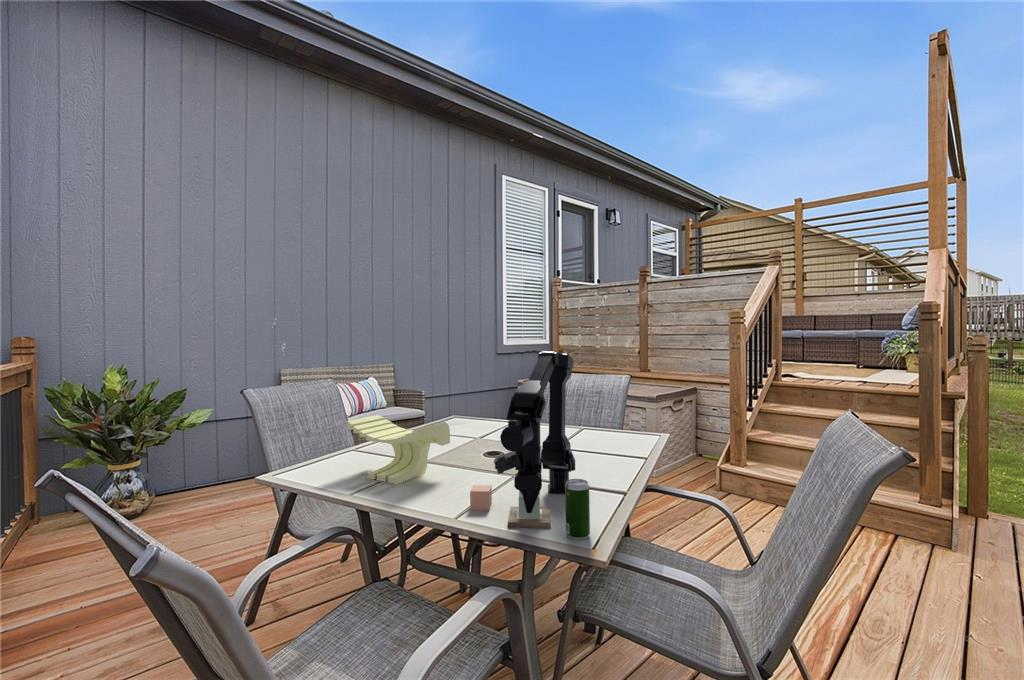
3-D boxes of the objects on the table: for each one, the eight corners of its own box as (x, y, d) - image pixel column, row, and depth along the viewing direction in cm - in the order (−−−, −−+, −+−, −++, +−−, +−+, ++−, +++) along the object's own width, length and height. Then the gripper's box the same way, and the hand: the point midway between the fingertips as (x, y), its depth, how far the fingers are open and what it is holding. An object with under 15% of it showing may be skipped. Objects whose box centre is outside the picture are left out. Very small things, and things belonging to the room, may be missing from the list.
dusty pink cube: (473, 503, 124) (473, 485, 124) (491, 503, 123) (491, 485, 123) (470, 510, 119) (470, 491, 119) (489, 510, 118) (489, 491, 118)
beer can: (573, 542, 99) (572, 487, 99) (561, 533, 104) (560, 480, 104) (594, 538, 101) (594, 483, 101) (581, 529, 106) (581, 477, 106)
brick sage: (539, 510, 114) (539, 490, 114) (539, 517, 109) (539, 497, 109) (519, 509, 115) (519, 489, 115) (518, 517, 110) (518, 496, 110)
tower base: (510, 511, 117) (510, 506, 117) (549, 511, 117) (549, 506, 117) (507, 527, 107) (507, 521, 107) (550, 527, 107) (550, 522, 107)
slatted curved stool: (450, 474, 150) (449, 420, 150) (417, 488, 137) (416, 428, 137) (383, 463, 165) (383, 413, 165) (348, 474, 152) (347, 420, 151)
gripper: (499, 434, 122) (500, 492, 122) (491, 451, 103) (492, 520, 103) (541, 434, 121) (542, 492, 121) (541, 451, 103) (542, 521, 103)
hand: (529, 505), depth 112 cm, fingers open, 9 cm apart
